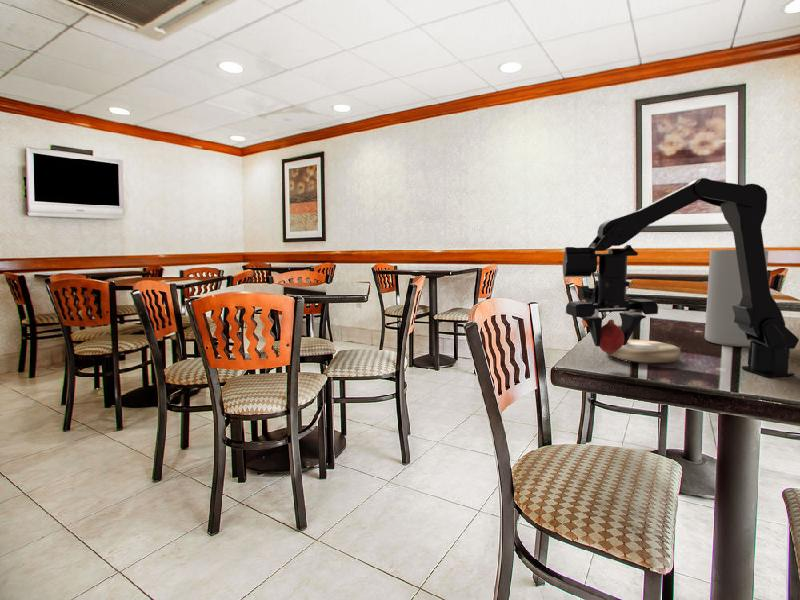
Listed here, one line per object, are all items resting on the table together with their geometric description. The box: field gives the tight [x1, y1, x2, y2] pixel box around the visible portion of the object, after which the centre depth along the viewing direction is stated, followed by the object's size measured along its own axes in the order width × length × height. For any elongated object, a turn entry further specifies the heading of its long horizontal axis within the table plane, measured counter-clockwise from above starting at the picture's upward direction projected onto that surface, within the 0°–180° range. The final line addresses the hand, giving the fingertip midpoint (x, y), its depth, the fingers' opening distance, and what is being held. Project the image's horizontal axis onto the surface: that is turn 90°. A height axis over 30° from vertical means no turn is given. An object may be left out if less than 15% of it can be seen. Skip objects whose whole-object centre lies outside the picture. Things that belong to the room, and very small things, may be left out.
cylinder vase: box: [704, 249, 769, 348], centre depth 124 cm, size 12×12×25 cm
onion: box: [598, 318, 625, 355], centre depth 103 cm, size 6×6×8 cm
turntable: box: [608, 324, 681, 363], centre depth 111 cm, size 16×16×6 cm
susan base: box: [619, 358, 668, 365], centre depth 112 cm, size 12×12×1 cm
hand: (610, 345), depth 103 cm, fingers closed on onion, 6 cm apart
